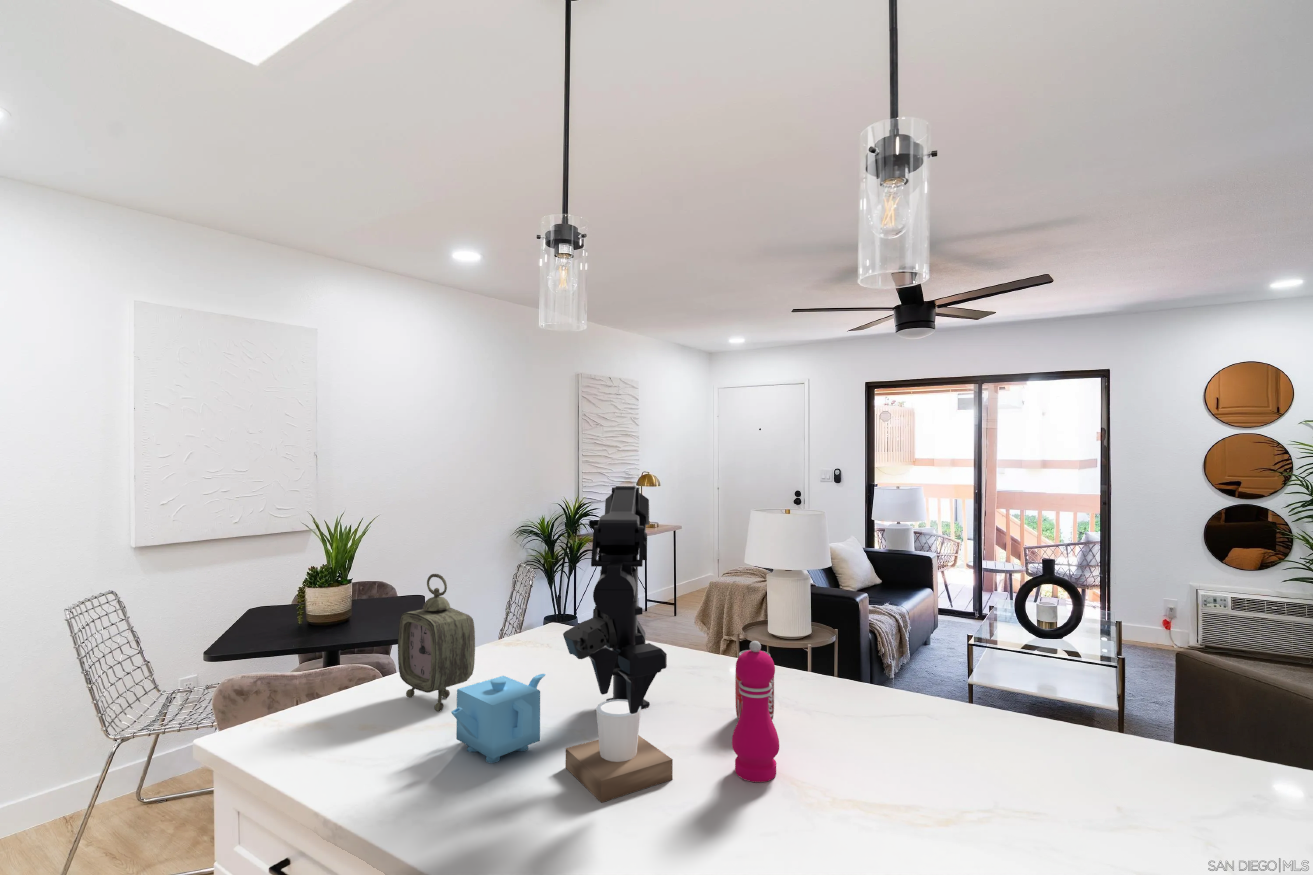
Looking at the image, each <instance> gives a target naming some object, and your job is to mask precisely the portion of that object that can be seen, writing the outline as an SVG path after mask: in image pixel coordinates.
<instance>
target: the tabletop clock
mask: <svg viewBox="0 0 1313 875" xmlns="http://www.w3.org/2000/svg"><path fill="white" fill-rule="evenodd" d="M432 578H438V579H439V580H440V581H442V583H443V586H444V588H443V591H441V592H440V588H439V587H435V588H434V589H432V587H431V586H430V585H431V584H430V581H431V580H432ZM447 584H448V583H447V581H446V578H444V577H443V576H442V575H441V574H439V573H432V574H430V575H429V576H428V578H427V580H426V587H427V590H428V591H429V593H430V594H431V595H433V596H431V597H429V598H428V599H427V600H425V602H424V603H423V606H422V609H417V610H411V611H407V612H403V613H401V614H400V618H399V621H398V623H399V624H398V630H397V631H398V633H397V634H398V637H397V665H398V671H399V678H400V679H401V680H402V681H403V682H404V683H405V684H407V685H408V686H410V687H411V688H409V689H407V690H406V693H405V695H406V697H407V698H413V697H414V695H415V690H417V691H420V692H423V693H432V692H436V691H437V693H438V696H437V702H436V703H435V704H434V710H435V711H436V712H441V711H443V709H444V703H442V700H443V699H442V698H444V699H447V698H448V697H449V696H450V695H451V692H450V690H449V689H447V688H449V687H452V686H455V685H459V684H462V683H465V682H467V681H468V680H469V679H470V677H471V676H472V675H473V674H474V673H473V672H474V671H475V670H474V669H475V660H476V658H475V656H476V631H475V630H476V628H475V623H474V618H472V616H471V615H469V614H468V613H466V612H463V611H460V610H458V609H455V608H454V607H451V605H450V602H449V601H448V600H447V599H446V597H444V595H445V594H446V593H447V589H448V585H447Z"/></svg>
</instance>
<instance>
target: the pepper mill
mask: <svg viewBox="0 0 1313 875" xmlns="http://www.w3.org/2000/svg"><path fill="white" fill-rule="evenodd" d="M748 646H749V649H748V650H749V651H746V652H744V653H742V654H741V655H740V656H739V655H738V657H737V660H736V661H735V674H736V673H737V676H738V677H739V678H740V680H741V681H740V682H739V686H740V688H739V692H740V693H741V694H742V711H741V716H740V718H738V721H737V722H736V726H735V727H734V728H733V731H732V732H733V733H732V737H731V748H732V750H733V752H734V753H735V754H736V757H735V758H734V759H735V760H734V772H735V774H736V775H737V776H738V777H739V778H741V779H742V780H745V781H748V782H753V783H765V782H770V781H772V780H773V779H774V778H775V777H776V776H777V762H776V759H775V757H777V755H778V753H779V751H780V738H779V734H778V732H777V729H776V727H775V724H774V722H773V719H771V717H770V713H769V706H768V700H769V696H770V695H771V694H772V691H771V688H772V685H771V683H770V681H771V680H772V678H773V677H774V678H775V673H776V666H775V662H774V660H773V658H772V657H771V655H770V656H769V655H768V654H767V653H768V652H767V653H765V652H766V651H765V652H763V651H764V650H762V645H761V643H760V642H759V641H758V640H753V641H751V642H750V643H749V645H748Z"/></svg>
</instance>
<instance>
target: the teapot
mask: <svg viewBox="0 0 1313 875" xmlns="http://www.w3.org/2000/svg"><path fill="white" fill-rule="evenodd" d="M545 676H546V673H540V674H536V675H535V676H533V677H532V679H531V680H530V681H529V684H526V683H523V682H521V681H518V680H516V679H513V678H510V677H508V676H506V675H501V676H498V677H494V678H491V679H488V680H483V681H481V682H476V683H474V684H471V685H466V686H463V687H460V688H457V689H456V708H455V709H454V710H451V711H450V712H451V714H452V716H453V717H454V718H455V719H456V733H455V735H456V736H455V737H456V740H457V741H459V742H461V743H462V744H464V745H466V746H468V747H467V749H466V750H467V751H468V752H470V753H471V752H472V753H473V752H475V753H476V752H478V753H479V754H482V755H483V756H485V762H487V763H490V764H493V763H497V762H499V761H500V760H501V757H502V756H505V755H508V754H509V753H512V752H514V751H517V752H524V751H528V750H529V745H530V746H531V745H533V744H535V743H538V742H540V741H541V690H540V689H538V686H539V683H540V681H541V680H542V679H543V678H544V677H545Z"/></svg>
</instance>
